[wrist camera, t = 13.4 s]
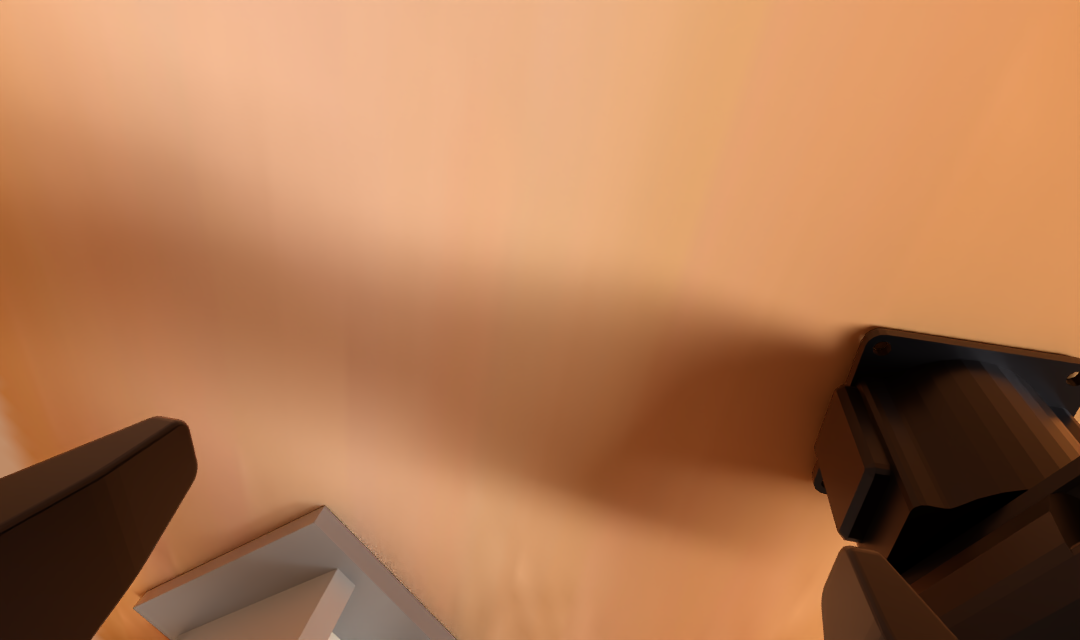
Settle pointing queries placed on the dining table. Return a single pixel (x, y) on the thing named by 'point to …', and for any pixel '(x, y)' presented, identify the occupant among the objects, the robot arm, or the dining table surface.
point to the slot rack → (291, 592)
